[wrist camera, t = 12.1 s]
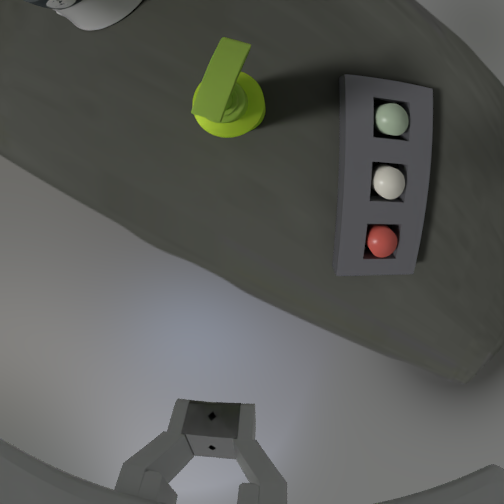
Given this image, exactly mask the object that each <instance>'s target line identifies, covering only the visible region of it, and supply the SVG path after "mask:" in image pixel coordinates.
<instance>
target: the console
mask: <svg viewBox="0 0 504 504" xmlns="http://www.w3.org/2000/svg"><path fill="white" fill-rule="evenodd" d="M339 96H340V148H339V180H338V200H337V216H336V230H335V243H334V254H333V264H332V266H333V269H334V271H335V274H336V276H360V275H396V274H414V269H415V265H416V260H417V255H418V251H419V245H420V240H421V235H422V229H423V223H424V217H425V210H426V203H427V195H428V187H429V177H430V166H431V153H432V134H433V89H431V88H427V87H423V86H418V85H413V84H409V83H403V82H398V81H392V80H386V79H380V78H373V77H366V76H358V75H349V74H344V75H342V76H341V77H339ZM374 100H382V101H389V102H396V103H400V106H401V107H402V108H403V109H404V110H405V111H406V113H407V115H408V121H409V122H408V127H407V129H406V131H405V132H404V133H402V134H401V135H400V139H393V138H384V137H374V136H373V125H374ZM372 162H384V163H396V164H398V170H399V171H400V172H401V173H402V174H403V176H404V179H405V187H404V190H403V192H402V193H401V195H400V196H398V197H397V198H395V199H386V198H384V197H382V196H373V195H370V191H371V176H372ZM367 224H392V231H393V232H394V233H395V235H396V237H397V247H396V249H395V250H394V252H393V253H392V254H391V255H389V256H387V257H382V258H381V257H377V256H375V255H374V254H373V253H372V252H371V250H364V248H365V240H366V232H367Z"/></svg>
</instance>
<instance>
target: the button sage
mask: <svg viewBox="0 0 504 504" xmlns="http://www.w3.org/2000/svg"><path fill="white" fill-rule="evenodd" d="M408 122H409V121H408V115H407V113H406V111H405V110H404V109H403V108H402V107H401V106H400V105H398V104H394V103H389V104H380V105H378V106H376V107H375V108H374V125H373V126H374V128H375V129H376V130H377V131H378V132H380V133H382V134H388V135H393V136H397V135H401V134H402V133H404V132H405V131H406V129H407V127H408Z"/></svg>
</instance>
